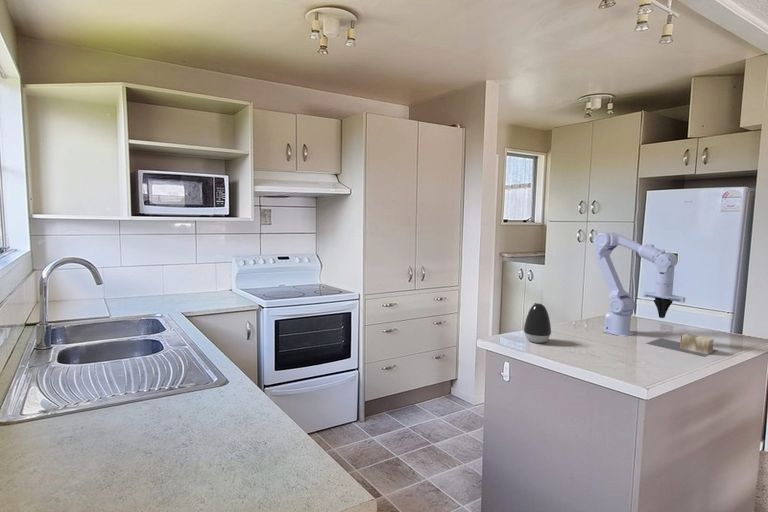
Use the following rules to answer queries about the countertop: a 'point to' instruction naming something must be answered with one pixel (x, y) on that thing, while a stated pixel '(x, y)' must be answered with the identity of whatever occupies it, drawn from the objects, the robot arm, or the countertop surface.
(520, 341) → the countertop surface
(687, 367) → the countertop surface
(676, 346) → the mat
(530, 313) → the black egg shape
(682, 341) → the block
